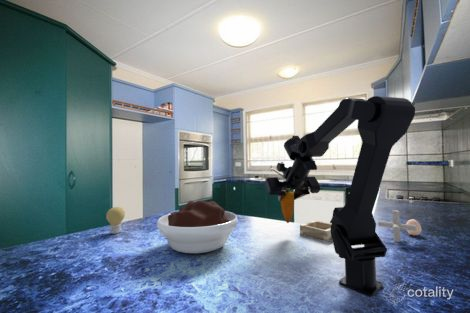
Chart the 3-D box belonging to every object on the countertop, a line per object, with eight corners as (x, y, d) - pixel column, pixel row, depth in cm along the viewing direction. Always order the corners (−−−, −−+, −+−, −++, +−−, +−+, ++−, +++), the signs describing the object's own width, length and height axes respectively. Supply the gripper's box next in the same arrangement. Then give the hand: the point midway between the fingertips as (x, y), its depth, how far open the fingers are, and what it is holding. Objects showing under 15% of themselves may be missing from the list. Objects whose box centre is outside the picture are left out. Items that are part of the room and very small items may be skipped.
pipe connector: (417, 248, 66) (415, 215, 66) (378, 242, 72) (376, 211, 72) (415, 239, 74) (414, 210, 74) (380, 234, 80) (379, 207, 80)
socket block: (327, 241, 73) (326, 231, 73) (300, 234, 81) (299, 225, 81) (341, 235, 79) (341, 225, 79) (315, 229, 87) (315, 220, 88)
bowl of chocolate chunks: (138, 255, 63) (138, 203, 64) (190, 231, 86) (190, 193, 87) (211, 272, 53) (211, 209, 53) (249, 240, 75) (249, 196, 76)
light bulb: (119, 235, 82) (119, 208, 83) (102, 235, 82) (102, 208, 83) (127, 230, 89) (127, 205, 89) (112, 230, 89) (112, 205, 89)
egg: (403, 234, 80) (402, 218, 80) (410, 232, 82) (409, 217, 82) (417, 237, 76) (416, 221, 76) (424, 236, 78) (423, 219, 78)
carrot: (285, 220, 83) (284, 181, 84) (297, 222, 79) (296, 181, 80) (278, 223, 79) (277, 181, 80) (290, 225, 76) (289, 182, 76)
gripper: (314, 154, 79) (300, 182, 89) (266, 153, 75) (256, 184, 85) (329, 176, 71) (311, 205, 81) (276, 177, 67) (264, 208, 77)
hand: (285, 199), depth 81 cm, fingers closed on carrot, 5 cm apart
